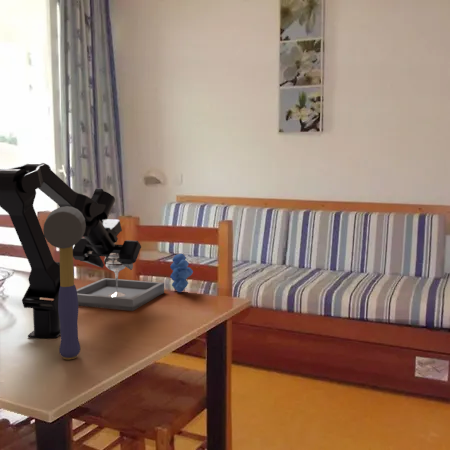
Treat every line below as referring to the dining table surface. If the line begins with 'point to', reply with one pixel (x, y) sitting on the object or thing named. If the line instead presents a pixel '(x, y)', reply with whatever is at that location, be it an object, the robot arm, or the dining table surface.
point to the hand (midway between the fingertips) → (117, 267)
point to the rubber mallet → (66, 272)
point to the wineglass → (116, 266)
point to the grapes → (180, 272)
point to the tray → (133, 289)
